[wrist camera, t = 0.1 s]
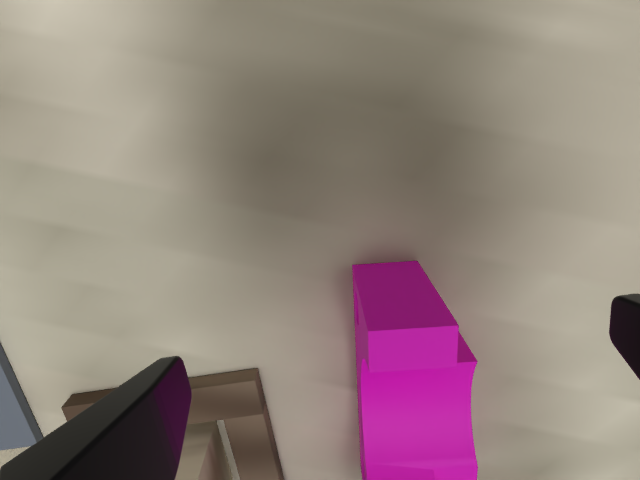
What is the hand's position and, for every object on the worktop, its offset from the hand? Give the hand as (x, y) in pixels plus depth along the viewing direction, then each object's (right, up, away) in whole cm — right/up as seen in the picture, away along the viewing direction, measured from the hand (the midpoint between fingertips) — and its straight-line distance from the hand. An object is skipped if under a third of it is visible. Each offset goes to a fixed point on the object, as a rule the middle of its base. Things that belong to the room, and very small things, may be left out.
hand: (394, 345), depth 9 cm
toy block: (+4, -6, +18) cm, 20 cm away
